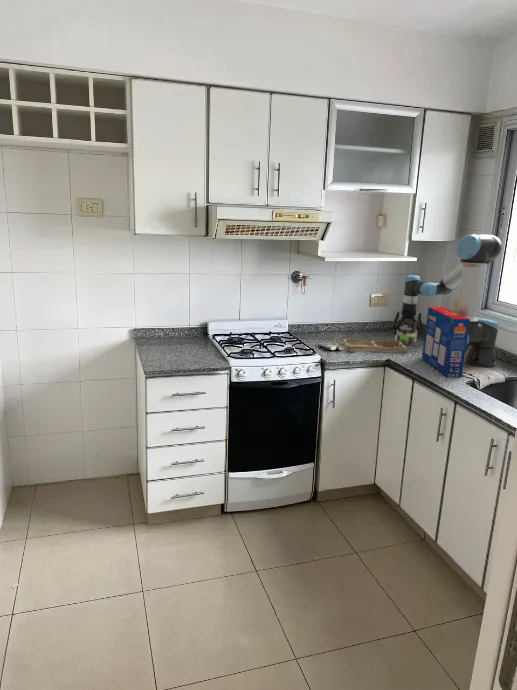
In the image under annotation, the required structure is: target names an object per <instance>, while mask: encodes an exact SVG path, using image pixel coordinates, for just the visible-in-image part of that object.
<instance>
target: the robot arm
mask: <svg viewBox="0 0 517 690" xmlns="http://www.w3.org/2000/svg"><path fill="white" fill-rule="evenodd" d="M458 241H459V242H458V243H457V246H456V254H457V257H458V258H460V264H459V265H458V266H457V267H456V268H454V269H453V270H452V271H451V272H450V273H448V274H447V275H446V276H444V277H443V278H442V279H440V280H437V281H436V280H435V281H434V280H433V281H430V280H429V281H427V280H421V277H420V276H419V275H416V274H408V275H406V276H405V281H404V290H403V300H402V301H403V302H402V309H401V311H396V312H395V316H394V319H393V321H392V323H391V326H390V327H391V329H392V330H393V335H394V341H397V339H398V328H399V324H400V323H399V321H398V320H399V317H400V316H401V317H400V321H404V320H405V319H411V320H412V321H413V322H416V321H417V325H416V333H415V340H414V343H416V342H417V339H418V338H417V337H419V332H420V331H422V330H423V329H424V328H423V323H422V313H421V311H420V312H419V311H418V312H417V303H418V298H419V297H418V296H424V297H429V298H431V297H433V296H441V295H442V296H446V295H451V294H452V293H453V292H454V290H455V287H456V286H458V285H460V292H459V301H458V310H457V313H458V314H460V315H462V316H464V317H466V318H469V319H470V324H469V331H468V337H467V344H466V347H467V346H469V348H468V350H467V352H465V357H464V363H466V364H469V365H470V366H471V365H472V366H474V365H475V366H476V367H480V366H483V367H482V368H493V367H496V365H497V358H496V353H495V347H496V343H497V336H498V332H499V323H498V321H496V320H493V319H489V318H483V317H477V316H478V315H477V312H478V307H479V306H478V305H479V297H480V290H481V289H480V288H481V282H482V276H483V275H482V273H483V267H484V266H485V265H489V264H490V263H492V262H493V261H494V260H496V259H497V258H498V257H499V255H500V254H501V252H502V247H503V245H502V241H501V240H500V239H499V238H498V237H497V236H495V235H493V234H479V233H477V234H476V233H475V234H467V235H465V236H463V237H462V238H460V240H458ZM415 316H416V317H417V320H416V319H415Z"/></svg>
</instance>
